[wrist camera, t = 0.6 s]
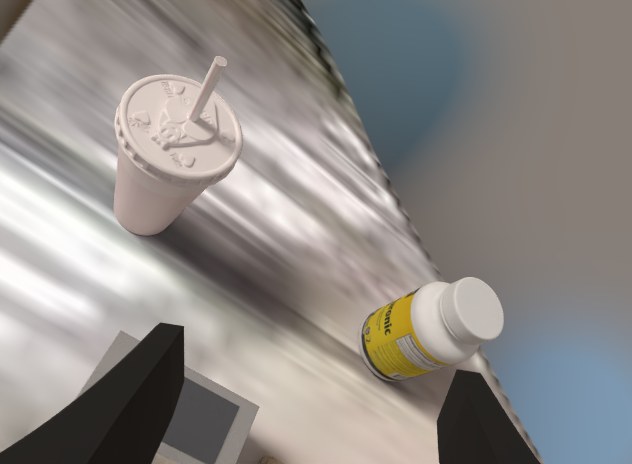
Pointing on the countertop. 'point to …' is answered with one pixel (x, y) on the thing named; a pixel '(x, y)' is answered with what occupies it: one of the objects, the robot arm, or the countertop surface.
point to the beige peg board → (270, 460)
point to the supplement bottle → (430, 328)
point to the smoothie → (171, 147)
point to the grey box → (193, 415)
